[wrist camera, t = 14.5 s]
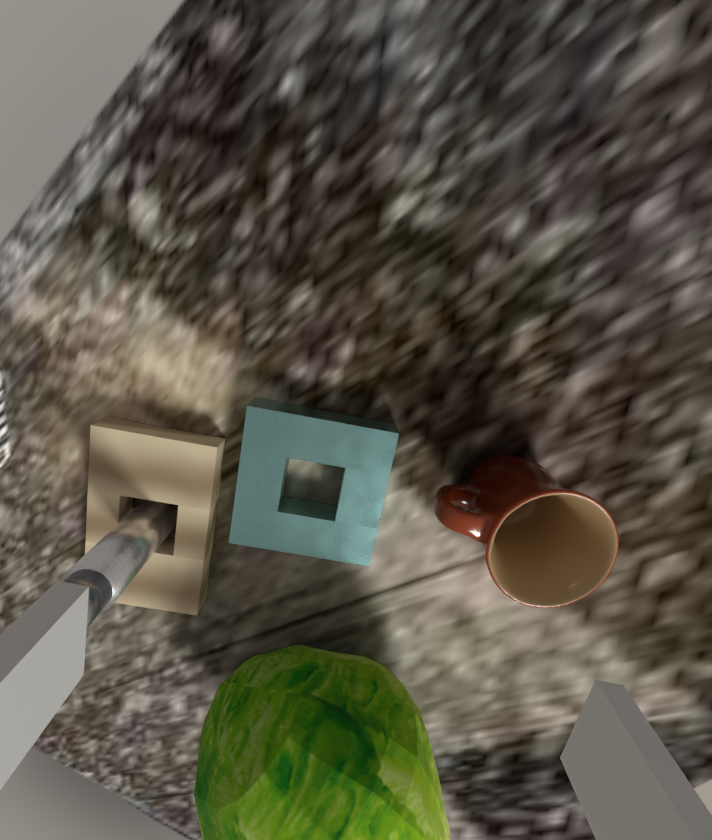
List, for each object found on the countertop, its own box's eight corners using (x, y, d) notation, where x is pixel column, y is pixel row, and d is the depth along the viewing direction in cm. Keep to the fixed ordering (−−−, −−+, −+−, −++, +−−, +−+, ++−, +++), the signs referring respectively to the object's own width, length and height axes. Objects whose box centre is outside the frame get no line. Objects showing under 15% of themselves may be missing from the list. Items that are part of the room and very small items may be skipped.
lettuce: (356, 802, 49) (358, 1059, 32) (180, 666, 44) (76, 885, 27) (487, 706, 45) (565, 937, 29) (313, 549, 41) (286, 716, 24)
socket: (255, 397, 37) (246, 405, 34) (395, 423, 38) (399, 433, 35) (237, 525, 40) (228, 542, 37) (367, 547, 41) (369, 566, 38)
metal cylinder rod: (141, 490, 39) (28, 589, 26) (182, 497, 39) (92, 599, 26) (138, 527, 40) (28, 641, 26) (178, 533, 40) (89, 650, 27)
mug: (567, 456, 39) (641, 509, 29) (530, 543, 41) (587, 621, 31) (436, 420, 38) (466, 462, 28) (405, 511, 40) (423, 580, 30)
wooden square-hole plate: (107, 417, 37) (90, 425, 35) (225, 438, 38) (217, 447, 35) (98, 580, 41) (83, 597, 39) (206, 597, 42) (197, 615, 39)
